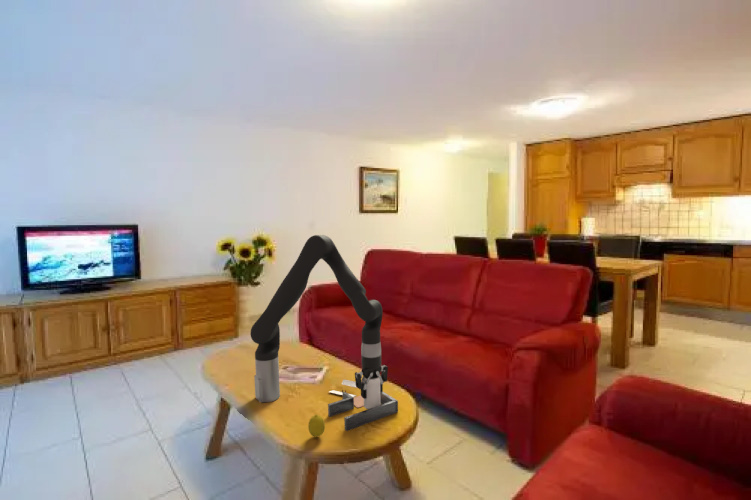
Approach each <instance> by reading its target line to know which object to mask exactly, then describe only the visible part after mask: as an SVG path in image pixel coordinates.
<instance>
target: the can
mask: <svg viewBox="0 0 751 500" xmlns="http://www.w3.org/2000/svg"><path fill="white" fill-rule="evenodd" d="M364 380H365V381H366V380H367V379H366V378H364ZM364 384H365V383H364ZM366 393H367V398H366V399H364V406H363V407H364V408H365V410H367V409H370V408H373V407H376V406H379V405H381V403H380V379H379V377H374V378H371V379H370V380H369V383H368V384H367V387H366Z"/></svg>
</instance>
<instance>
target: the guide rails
mask: <svg viewBox="0 0 751 500" xmlns="http://www.w3.org/2000/svg"><path fill="white" fill-rule="evenodd" d="M349 394H350V393H348V392H347V391H346V392H345V391H343V395H342V399H341V400H337V401H334V402H331V403H330V402H329V403H327V409H328V410H327V411H328V417H329V418H332V417H334V416H337V415H340V414H343V413H346V412H349V411H351V410H354V409H355V406H354V398H355V397H352V396H350V395H349ZM397 413H399V400H397V399H396V398H394V397H393V396H390V394H388V393H386V392H384V391H382V394H380V405H379V406H376V407H373V408H370V409H365V410H362V411H359V412H357V413H354V414H351V415H347V416H345V417H344V418H343V419H344V431H345V432H348V431H350V430H351V431H352V430H354V429H356V428H358V427H362V426H365V425H367V424H371V423H373V422H375V421H379V420H380V419H383V418H385V417H389V416H392V415H394V414H397Z"/></svg>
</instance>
